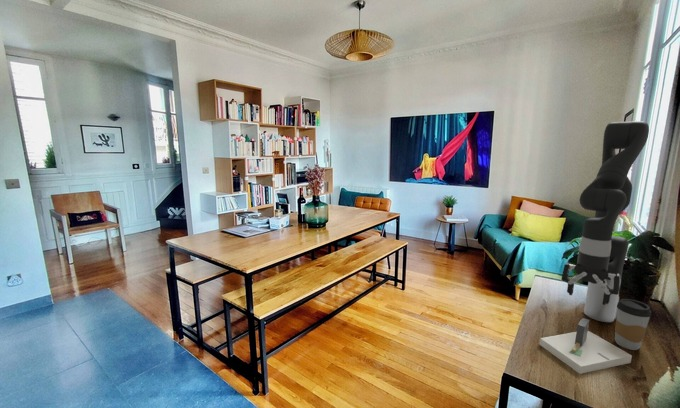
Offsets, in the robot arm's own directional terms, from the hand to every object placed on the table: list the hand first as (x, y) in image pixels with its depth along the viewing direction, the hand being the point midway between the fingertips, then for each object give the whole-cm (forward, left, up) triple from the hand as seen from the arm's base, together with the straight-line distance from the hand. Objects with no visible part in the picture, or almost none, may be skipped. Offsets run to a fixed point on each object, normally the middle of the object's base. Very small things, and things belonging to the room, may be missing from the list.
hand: (586, 299), depth 98 cm
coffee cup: (-18, +2, -18) cm, 26 cm away
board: (+1, +2, -18) cm, 18 cm away
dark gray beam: (+2, +1, -15) cm, 15 cm away
